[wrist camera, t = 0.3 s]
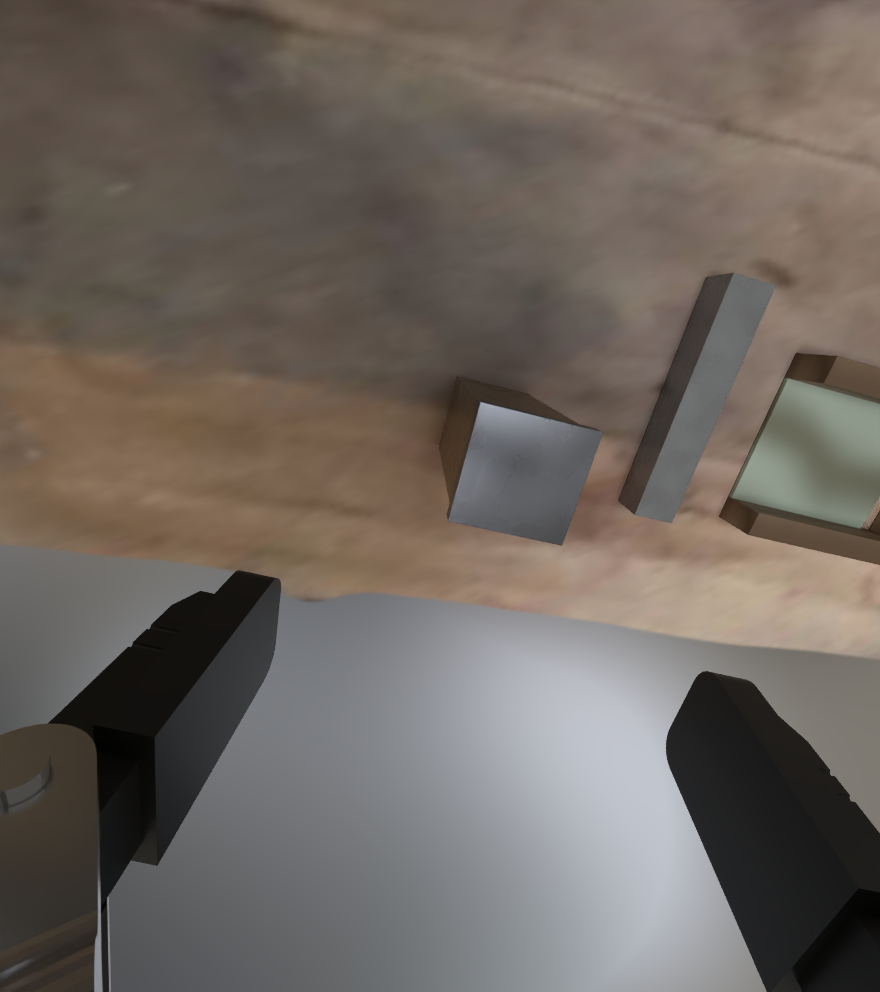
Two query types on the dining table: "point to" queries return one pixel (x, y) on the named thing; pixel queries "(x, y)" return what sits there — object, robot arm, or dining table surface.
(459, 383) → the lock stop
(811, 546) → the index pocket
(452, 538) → the dining table surface
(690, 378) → the door edge strip
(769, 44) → the dining table surface
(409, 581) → the dining table surface
